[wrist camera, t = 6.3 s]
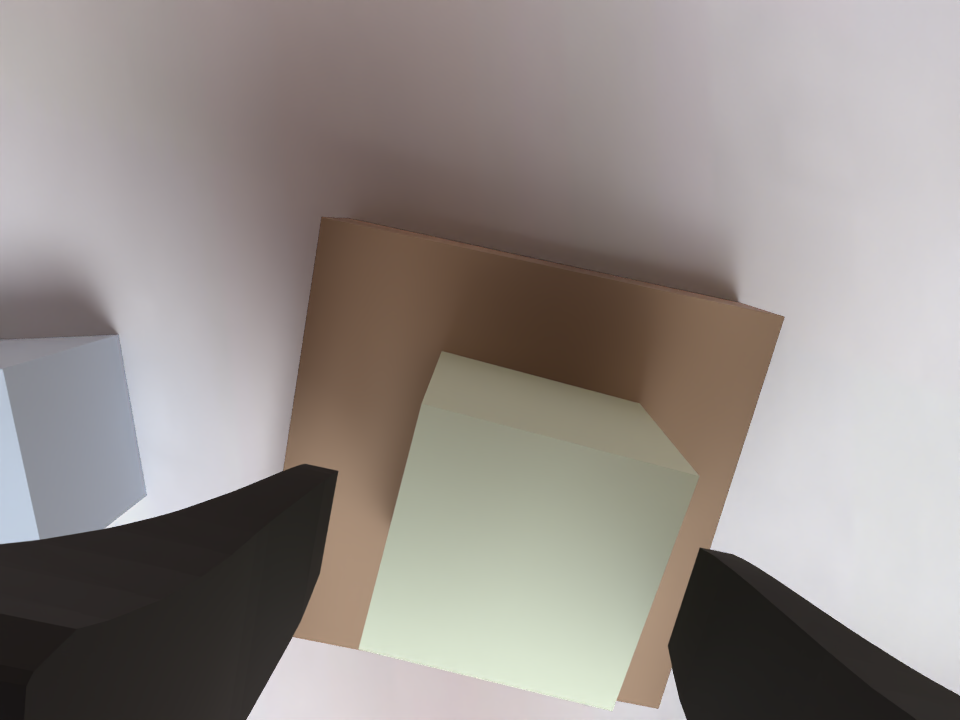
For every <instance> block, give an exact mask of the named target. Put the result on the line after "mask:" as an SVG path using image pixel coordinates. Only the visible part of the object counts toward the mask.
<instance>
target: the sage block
mask: <svg viewBox="0 0 960 720" xmlns="http://www.w3.org/2000/svg"><path fill="white" fill-rule="evenodd" d="M698 479H699V475H698V474H697V472H696V471H695V470H694V469H693V468H692V466H691V465H690V464H689V463H688V461H687V460H686V459H685V458H684V457H683V455H682V454H681V453H680V452H679V451H678V449H677V448H676V447H675V446H674V445H673V443H672V442H671V441H670V440H669V438H668V437H667V436H666V435H665V434H664V432H663V431H662V430H661V429H660V428H659V426H658V425H657V424H656V423H655V421H654V420H653V419H652V418H651V417H650V415H649V414H648V413H647V412H646V411H645V409H644V408H643V407H642V406H641V404H640V403H636V402H632V401H629V400H625V399H621V398H617V397H613V396H610V395H606V394H602V393H598V392H595V391H591V390H587V389H583V388H580V387H576V386H572V385H568V384H564V383H561V382H557V381H553V380H549V379H546V378H542V377H538V376H534V375H530V374H527V373H523V372H519V371H515V370H512V369H508V368H504V367H500V366H497V365H493V364H489V363H485V362H481V361H478V360H474V359H470V358H466V357H463V356H459V355H455V354H451V353H447V352H444V351H442V352H441V354H440V357H439V360H438V362H437V365H436V367H435V370H434V373H433V375H432V378H431V380H430V383H429V386H428V388H427V391H426V393H425V396H424V399H423V401H422V404H421V408H420V412H419V416H418V420H417V423H416V427H415V431H414V435H413V439H412V443H411V447H410V451H409V455H408V459H407V462H406V466H405V470H404V474H403V478H402V482H401V486H400V490H399V494H398V497H397V501H396V505H395V509H394V513H393V517H392V521H391V525H390V529H389V532H388V536H387V540H386V544H385V548H384V552H383V556H382V560H381V564H380V567H379V571H378V575H377V579H376V583H375V587H374V591H373V595H372V599H371V602H370V606H369V610H368V614H367V618H366V622H365V626H364V630H363V634H362V637H361V641H360V645H359V650H363V651H367V652H371V653H375V654H379V655H383V656H388V657H392V658H396V659H400V660H404V661H408V662H412V663H416V664H420V665H424V666H429V667H433V668H437V669H441V670H445V671H449V672H453V673H457V674H461V675H465V676H470V677H474V678H478V679H482V680H486V681H490V682H494V683H498V684H502V685H506V686H511V687H515V688H519V689H523V690H527V691H531V692H535V693H539V694H543V695H547V696H552V697H556V698H560V699H564V700H568V701H572V702H576V703H580V704H584V705H588V706H593V707H597V708H601V709H605V710H609V711H613V708H614V705H615V703H616V700H617V697H618V695H619V692H620V689H621V687H622V684H623V681H624V679H625V676H626V673H627V670H628V668H629V665H630V662H631V660H632V657H633V654H634V652H635V649H636V646H637V643H638V641H639V638H640V635H641V633H642V630H643V627H644V625H645V622H646V619H647V617H648V614H649V611H650V608H651V606H652V603H653V600H654V598H655V595H656V592H657V590H658V587H659V584H660V581H661V579H662V576H663V573H664V571H665V568H666V565H667V563H668V560H669V557H670V555H671V552H672V549H673V546H674V544H675V541H676V538H677V536H678V533H679V530H680V528H681V525H682V522H683V519H684V517H685V514H686V511H687V509H688V506H689V503H690V501H691V498H692V495H693V493H694V490H695V487H696V484H697V482H698Z"/></svg>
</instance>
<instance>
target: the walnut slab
mask: <svg viewBox="0 0 960 720" xmlns="http://www.w3.org/2000/svg"><path fill="white" fill-rule="evenodd" d="M783 320H784V316H781V315H777V314H774V313H771V312H768V311H765V310H762V309H758V308H755V307H752V306H749V305H746V304H743V303H739V302H735V301H730V300H726V299H721V298H716V297H712V296H707V295H702V294H698V293H693V292H688V291H684V290H679V289H675V288H670V287H665V286H661V285H656V284H651V283H647V282H642V281H637V280H633V279H628V278H624V277H619V276H614V275H610V274H605V273H600V272H596V271H591V270H586V269H582V268H577V267H573V266H568V265H563V264H559V263H554V262H549V261H545V260H540V259H535V258H531V257H526V256H522V255H517V254H512V253H508V252H503V251H498V250H494V249H489V248H484V247H480V246H475V245H471V244H466V243H461V242H457V241H452V240H447V239H443V238H438V237H433V236H429V235H424V234H420V233H415V232H410V231H406V230H401V229H396V228H392V227H387V226H382V225H378V224H373V223H369V222H364V221H359V220H355V219H350V218H332V217H321V224H320V231H319V237H318V244H317V250H316V257H315V264H314V270H313V277H312V283H311V290H310V297H309V303H308V310H307V317H306V323H305V330H304V336H303V343H302V350H301V356H300V363H299V369H298V376H297V383H296V389H295V396H294V402H293V409H292V416H291V422H290V429H289V435H288V442H287V449H286V455H285V462H284V468H283V471H285V470H287V469H290V468H292V467H295V466H298V465H301V464H309V465H314V466H318V467H323V468H328V469H333V470H337V471H338V476H337V482H336V487H335V493H334V498H333V504H332V510H331V515H330V521H329V526H328V532H327V537H326V543H325V548H324V554H323V560H322V565H321V571H320V575H319V577H318V580H317V582H316V585H315V587H314V590H313V593H312V595H311V598H310V600H309V603H308V605H307V608H306V610H305V612H304V615H303V617H302V620H301V622H300V624H299V626H298V628H297V630H296V631H295V633H294V635H293V637H296V638H301V639H306V640H311V641H316V642H321V643H326V644H331V645H336V646H342V647H347V648H352V649H357V650H359V645H360V641H361V637H362V634H363V630H364V626H365V622H366V618H367V614H368V610H369V606H370V602H371V599H372V595H373V591H374V587H375V583H376V579H377V575H378V571H379V567H380V564H381V560H382V556H383V552H384V548H385V544H386V540H387V536H388V532H389V529H390V525H391V521H392V517H393V513H394V509H395V505H396V501H397V497H398V494H399V490H400V486H401V482H402V478H403V474H404V470H405V466H406V462H407V459H408V455H409V451H410V447H411V443H412V439H413V435H414V431H415V427H416V423H417V420H418V416H419V412H420V408H421V404H422V401H423V399H424V396H425V393H426V391H427V388H428V386H429V383H430V380H431V378H432V375H433V373H434V370H435V367H436V365H437V362H438V360H439V357H440V354H441V352H442V351H444V352H447V353H451V354H455V355H459V356H463V357H466V358H470V359H474V360H478V361H481V362H485V363H489V364H493V365H497V366H500V367H504V368H508V369H512V370H515V371H519V372H523V373H527V374H530V375H534V376H538V377H542V378H546V379H549V380H553V381H557V382H561V383H564V384H568V385H572V386H576V387H580V388H583V389H587V390H591V391H595V392H598V393H602V394H606V395H610V396H613V397H617V398H621V399H625V400H629V401H632V402H636V403H640V404H641V406H642V407H643V408H644V409H645V411H646V412H647V413H648V414H649V415H650V417H651V418H652V419H653V420H654V421H655V423H656V424H657V425H658V426H659V428H660V429H661V430H662V431H663V432H664V434H665V435H666V436H667V437H668V438H669V440H670V441H671V442H672V443H673V445H674V446H675V447H676V448H677V449H678V451H679V452H680V453H681V454H682V455H683V457H684V458H685V459H686V460H687V461H688V463H689V464H690V465H691V466H692V468H693V469H694V470H695V471H696V472H697V474H698V475H699V479H698V482H697V484H696V487H695V490H694V493H693V495H692V498H691V501H690V503H689V506H688V509H687V511H686V514H685V517H684V519H683V522H682V525H681V528H680V530H679V533H678V536H677V538H676V541H675V544H674V546H673V549H672V552H671V555H670V557H669V560H668V563H667V565H666V568H665V571H664V573H663V576H662V579H661V581H660V584H659V587H658V590H657V592H656V595H655V598H654V600H653V603H652V606H651V608H650V611H649V614H648V617H647V619H646V622H645V625H644V627H643V630H642V633H641V635H640V638H639V641H638V643H637V646H636V649H635V652H634V654H633V657H632V660H631V662H630V665H629V668H628V670H627V673H626V676H625V679H624V681H623V684H622V687H621V689H620V692H619V695H618V697H617V700H616V701H621V702H626V703H631V704H636V705H642V706H647V707H652V708H657V709H658V708H659V705H660V702H661V699H662V696H663V693H664V690H665V687H666V683H667V680H668V677H669V674H670V671H671V668H672V664H671V659H670V655H669V650H668V643H669V640H670V637H671V634H672V631H673V628H674V625H675V622H676V619H677V615H678V612H679V609H680V606H681V603H682V600H683V597H684V594H685V591H686V588H687V585H688V582H689V579H690V576H691V573H692V570H693V567H694V564H695V560H696V557H697V554H698V551H699V548H705V549H710V547H711V544H712V541H713V538H714V534H715V531H716V528H717V525H718V522H719V519H720V516H721V513H722V510H723V507H724V503H725V500H726V497H727V494H728V491H729V488H730V485H731V482H732V479H733V475H734V472H735V469H736V466H737V463H738V460H739V457H740V454H741V451H742V448H743V444H744V441H745V438H746V435H747V432H748V429H749V426H750V423H751V420H752V417H753V413H754V410H755V407H756V404H757V401H758V398H759V395H760V392H761V389H762V385H763V382H764V379H765V376H766V373H767V370H768V367H769V364H770V361H771V358H772V354H773V351H774V348H775V345H776V342H777V339H778V336H779V333H780V330H781V326H782V323H783ZM362 651H363V650H362Z"/></svg>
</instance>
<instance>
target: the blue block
mask: <svg viewBox="0 0 960 720" xmlns="http://www.w3.org/2000/svg"><path fill="white" fill-rule="evenodd" d="M146 495H147V494H146V488H145V483H144V477H143V471H142V466H141V460H140V454H139V448H138V443H137V437H136V431H135V425H134V420H133V414H132V408H131V403H130V397H129V391H128V385H127V380H126V374H125V368H124V363H123V357H122V351H121V345H120V340H119V335H97V336H74V337H51V338H28V339H4V340H0V544H5V543H15V542H24V541H33V540H40V539H47V538H53V537H59V536H65V535H71V534H77V533H83V532H89V531H95V530H101V529H104V528H106V527H107V526H108V525H109V524H111V523H112V522H113V521H114V520H116V519H117V518H118V517H120V516H121V515H122V514H123V513H125V512H126V511H127V510H129V509H130V508H131V507H132V506H134V505H135V504H136V503H137V502H139V501H140V500H141V499H143V498H144V497H145V496H146Z"/></svg>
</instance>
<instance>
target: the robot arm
mask: <svg viewBox="0 0 960 720" xmlns="http://www.w3.org/2000/svg"><path fill="white" fill-rule="evenodd" d="M337 476H338V471H337V470H333V469H328V468H323V467H318V466H314V465H309V464H301V465H298V466H295V467H292V468H290V469H287V470H285V471H282V472H280V473H277V474H275V475H273V476H270V477H268V478H265V479H263V480H260V481H258V482H256V483H253V484H251V485H248V486H246V487H243V488H241V489H238V490H236V491H233V492H231V493H228V494H225V495H222V496H219V497H217V498H214V499H211V500H208V501H205V502H202V503H199V504H196V505H194V506H191V507H188V508H185V509H182V510H179V511H175V512H172V513H169V514H165V515H161V516H158V517H154V518H150V519H146V520H142V521H138V522H134V523H130V524H125V525H121V526H117V527H112V528H107V529H101V530H95V531H89V532H83V533H77V534H71V535H65V536H59V537H53V538H47V539H40V540H33V541H24V542H15V543H5V544H0V720H246V719H247V717H248V716H249V714H250V712H251V710H252V708H253V707H254V705H255V703H256V701H257V700H258V698H259V696H260V694H261V692H262V691H263V689H264V687H265V685H266V684H267V682H268V680H269V678H270V676H271V675H272V673H273V671H274V669H275V668H276V666H277V664H278V662H279V660H280V659H281V657H282V655H283V653H284V651H285V650H286V648H287V646H288V644H289V642H290V641H291V639H292V637H293V635H294V633H295V631H296V630H297V628H298V626H299V624H300V622H301V620H302V617H303V615H304V612H305V610H306V608H307V605H308V603H309V600H310V598H311V595H312V593H313V590H314V587H315V585H316V582H317V580H318V577H319V575H320V571H321V565H322V560H323V554H324V548H325V543H326V537H327V532H328V526H329V521H330V515H331V510H332V504H333V498H334V493H335V487H336V482H337ZM668 650H669V655H670V659H671V664H672V669H673V674H674V678H675V682H676V686H677V691H678V695H679V699H680V702H681V705H682V708H683V710H684V713H685V716H686V719H687V720H960V696H959V695H958V694H956V693H954V692H952V691H950V690H949V689H947V688H945V687H943V686H941V685H940V684H938V683H936V682H934V681H932V680H931V679H929V678H927V677H925V676H924V675H922V674H920V673H919V672H917V671H915V670H914V669H912V668H910V667H909V666H907V665H905V664H904V663H902V662H900V661H899V660H897V659H896V658H894V657H892V656H891V655H889V654H888V653H886V652H884V651H883V650H881V649H880V648H878V647H877V646H875V645H873V644H872V643H870V642H869V641H867V640H865V639H864V638H862V637H861V636H859V635H858V634H856V633H855V632H853V631H852V630H850V629H849V628H847V627H846V626H844V625H843V624H841V623H840V622H838V621H837V620H835V619H834V618H832V617H831V616H829V615H828V614H826V613H825V612H823V611H822V610H820V609H819V608H817V607H816V606H814V605H813V604H811V603H810V602H809V601H807V600H806V599H804V598H803V597H801V596H800V595H798V594H797V593H795V592H794V591H792V590H791V589H789V588H788V587H786V586H785V585H784V584H782V583H781V582H779V581H778V580H776V579H775V578H773V577H772V576H770V575H768V574H767V573H765V572H764V571H762V570H761V569H759V568H757V567H756V566H754V565H752V564H751V563H749V562H747V561H745V560H744V559H742V558H739V557H737V556H735V555H733V554H729V553H724V552H719V551H714V550H710V549H705V548H699V551H698V554H697V557H696V560H695V564H694V567H693V570H692V573H691V576H690V579H689V582H688V585H687V588H686V591H685V594H684V597H683V600H682V603H681V606H680V609H679V612H678V615H677V619H676V622H675V625H674V628H673V631H672V634H671V637H670V640H669V643H668Z"/></svg>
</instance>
